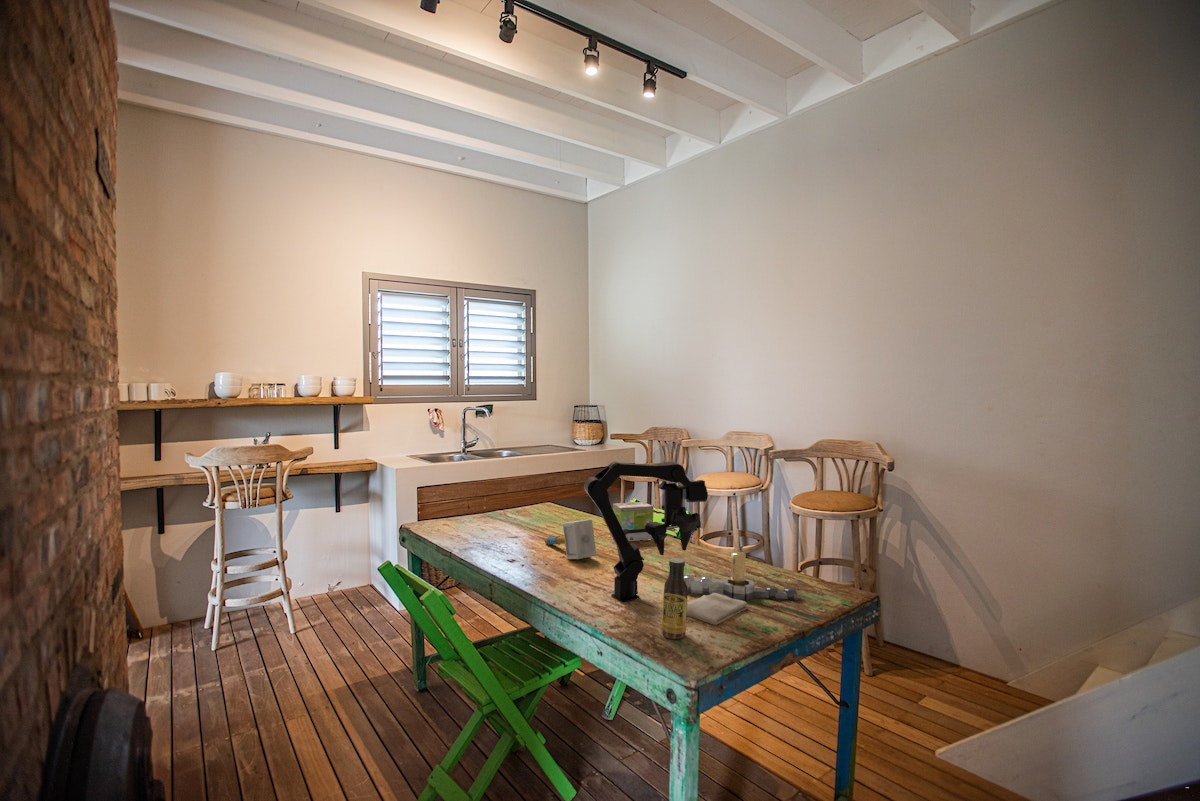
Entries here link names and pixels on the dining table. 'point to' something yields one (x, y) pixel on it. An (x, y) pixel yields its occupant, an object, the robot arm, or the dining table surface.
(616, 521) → the robot arm
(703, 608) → the washcloth
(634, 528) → the tea box
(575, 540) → the hammer
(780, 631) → the dining table surface
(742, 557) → the brass pin
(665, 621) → the sauce bottle
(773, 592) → the chain joint
